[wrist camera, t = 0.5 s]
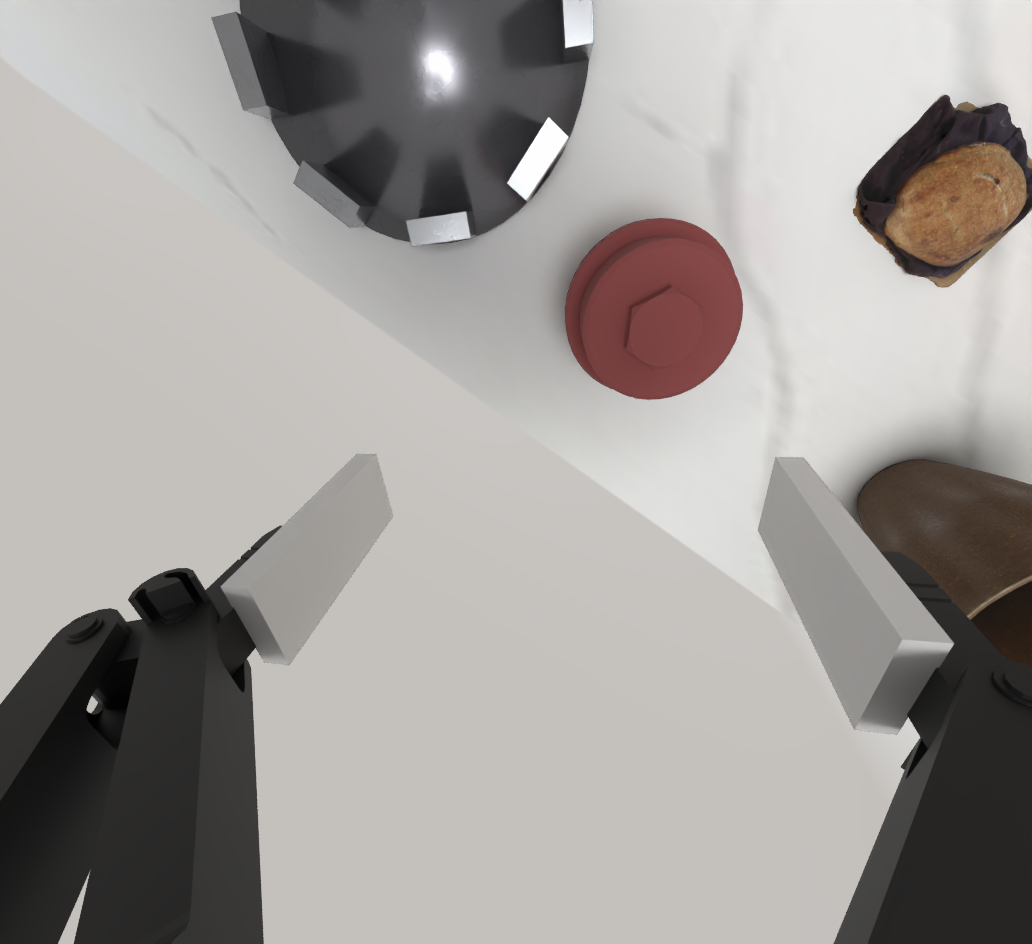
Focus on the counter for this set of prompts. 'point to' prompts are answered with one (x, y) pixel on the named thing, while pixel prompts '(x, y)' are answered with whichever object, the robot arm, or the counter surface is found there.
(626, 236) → the mechanical component
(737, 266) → the counter surface
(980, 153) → the bread roll
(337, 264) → the counter surface
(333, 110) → the castellated collar
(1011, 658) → the plant pot
